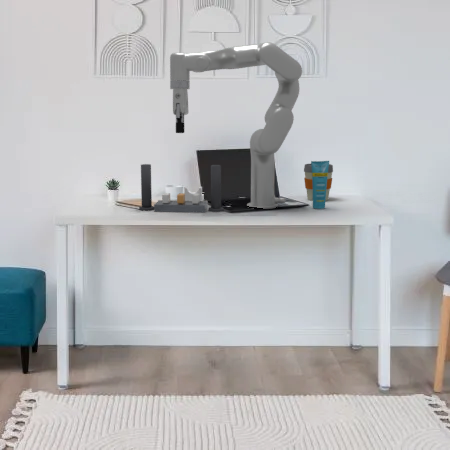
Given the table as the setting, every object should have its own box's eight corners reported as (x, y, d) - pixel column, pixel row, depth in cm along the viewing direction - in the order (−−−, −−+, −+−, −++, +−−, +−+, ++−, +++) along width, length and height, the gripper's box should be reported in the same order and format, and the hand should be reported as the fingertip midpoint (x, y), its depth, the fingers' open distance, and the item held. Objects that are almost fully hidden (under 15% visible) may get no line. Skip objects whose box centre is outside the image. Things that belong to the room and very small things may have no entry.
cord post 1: (155, 208, 312) (154, 164, 309) (152, 210, 306) (151, 165, 303) (140, 208, 313) (139, 163, 309) (137, 210, 307) (136, 165, 304)
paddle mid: (185, 201, 310) (184, 193, 309) (183, 203, 305) (183, 195, 305) (179, 201, 310) (179, 193, 310) (177, 203, 305) (177, 195, 305)
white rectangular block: (170, 201, 311) (170, 193, 310) (168, 203, 306) (168, 195, 305) (164, 201, 311) (164, 193, 310) (162, 203, 306) (162, 195, 305)
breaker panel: (207, 208, 312) (207, 200, 312) (204, 212, 302) (204, 204, 302) (158, 207, 314) (158, 199, 314) (154, 211, 304) (154, 203, 304)
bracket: (201, 205, 321) (201, 187, 319) (184, 205, 321) (184, 187, 320) (204, 200, 333) (204, 183, 332) (188, 200, 334) (188, 183, 332)
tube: (312, 209, 309) (313, 161, 305) (308, 207, 314) (309, 160, 310) (329, 208, 311) (331, 161, 307) (325, 206, 315) (326, 159, 312)
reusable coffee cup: (299, 200, 331) (300, 165, 328) (308, 196, 343) (308, 162, 340) (328, 202, 326) (328, 167, 324) (335, 198, 338) (336, 164, 335)
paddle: (199, 201, 309) (199, 193, 309) (198, 203, 305) (198, 195, 304) (193, 201, 310) (193, 193, 309) (192, 203, 305) (192, 195, 304)
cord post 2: (224, 209, 310) (224, 164, 306) (222, 211, 304) (222, 166, 300) (209, 209, 310) (209, 164, 307) (207, 211, 304) (207, 166, 301)
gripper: (186, 85, 291) (186, 134, 295) (192, 85, 306) (192, 131, 309) (167, 85, 292) (167, 134, 296) (173, 85, 307) (173, 131, 310)
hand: (180, 132), depth 303 cm, fingers closed
